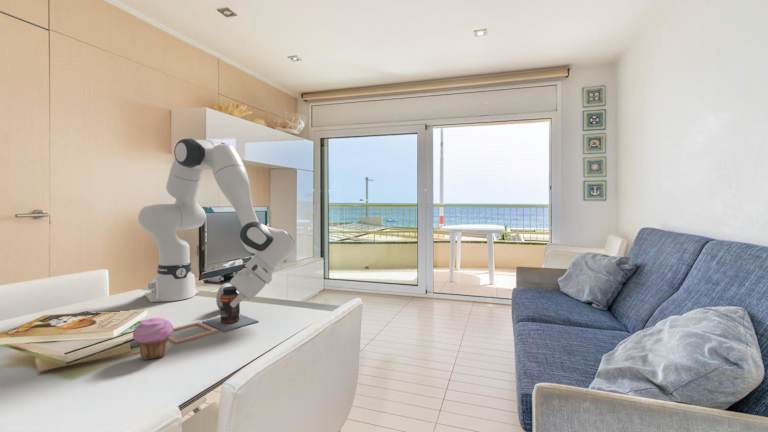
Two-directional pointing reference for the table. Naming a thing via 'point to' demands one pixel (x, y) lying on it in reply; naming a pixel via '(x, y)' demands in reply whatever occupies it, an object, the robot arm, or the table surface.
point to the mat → (226, 327)
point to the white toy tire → (221, 293)
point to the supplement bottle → (229, 306)
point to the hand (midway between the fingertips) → (228, 302)
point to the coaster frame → (194, 335)
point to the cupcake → (153, 337)
